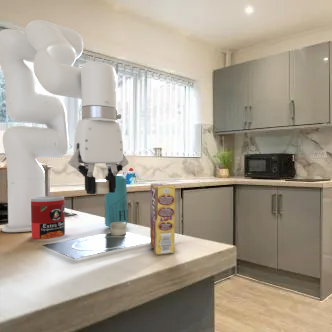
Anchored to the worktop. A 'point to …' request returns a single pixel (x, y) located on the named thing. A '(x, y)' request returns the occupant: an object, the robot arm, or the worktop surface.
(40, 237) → the canned food
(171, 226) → the candy box
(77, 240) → the chalkboard
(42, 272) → the worktop surface
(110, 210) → the beverage bottle
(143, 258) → the worktop surface
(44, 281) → the worktop surface
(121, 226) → the puck eye
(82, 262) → the worktop surface
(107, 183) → the puck eye
